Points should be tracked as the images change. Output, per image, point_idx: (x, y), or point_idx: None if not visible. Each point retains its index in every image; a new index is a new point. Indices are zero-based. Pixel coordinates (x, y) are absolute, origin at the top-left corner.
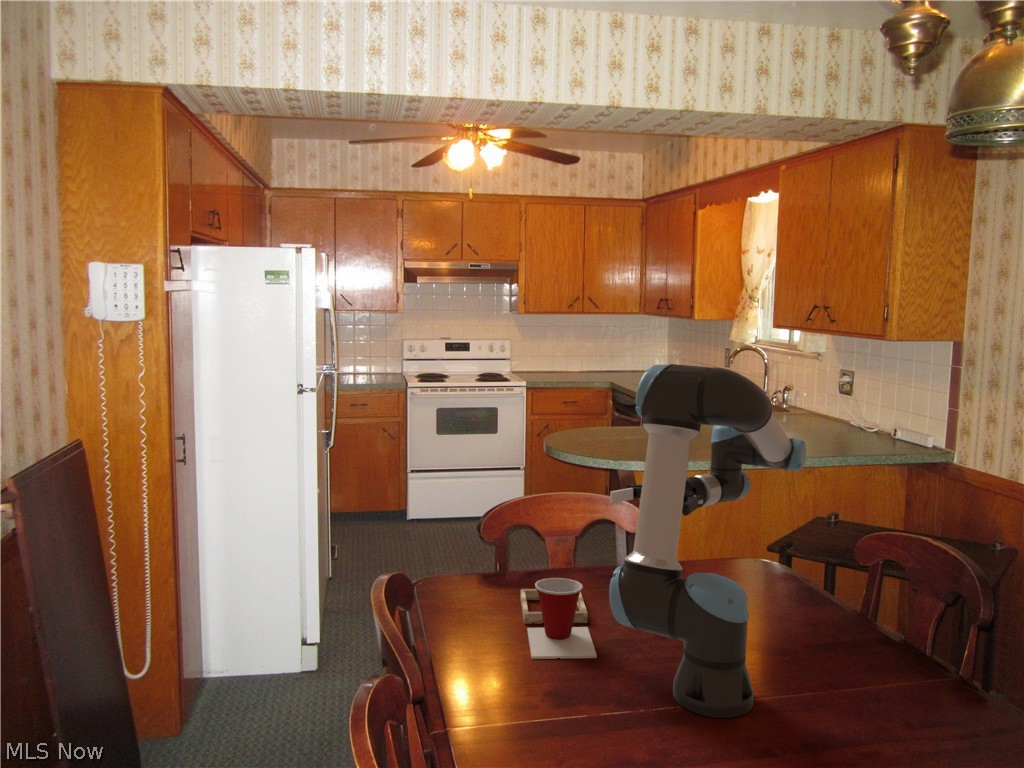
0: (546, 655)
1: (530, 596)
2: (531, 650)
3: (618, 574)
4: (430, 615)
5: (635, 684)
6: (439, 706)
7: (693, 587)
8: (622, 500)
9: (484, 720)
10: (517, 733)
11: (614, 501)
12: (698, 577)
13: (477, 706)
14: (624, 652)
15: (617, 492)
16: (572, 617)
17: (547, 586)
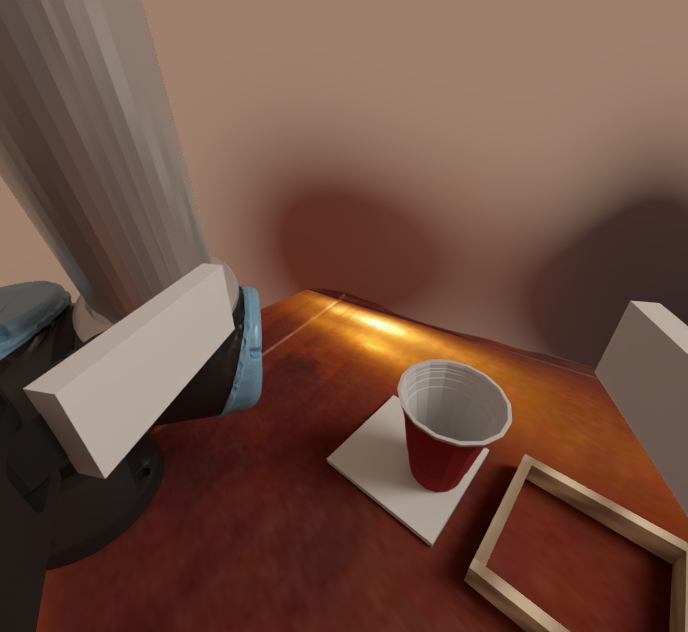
0: (382, 408)
1: (677, 574)
2: None
3: (239, 285)
4: (605, 389)
5: (229, 441)
6: (372, 308)
7: (46, 281)
8: (653, 449)
9: (326, 315)
10: (290, 319)
11: (608, 378)
12: (24, 302)
13: (349, 321)
14: (300, 517)
15: (655, 339)
16: (408, 445)
17: (497, 417)
